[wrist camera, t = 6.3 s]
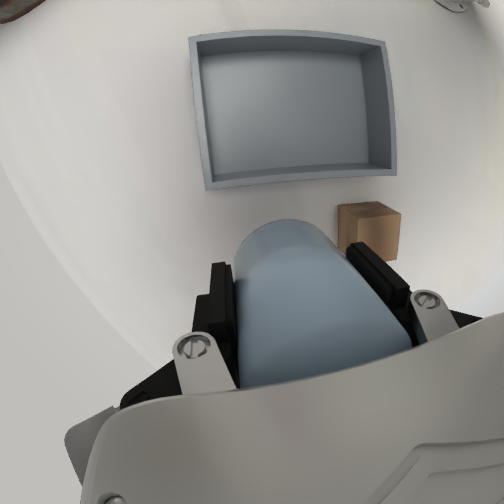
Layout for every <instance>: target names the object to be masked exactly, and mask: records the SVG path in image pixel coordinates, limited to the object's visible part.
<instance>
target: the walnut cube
mask: <svg viewBox="0 0 504 504" xmlns="http://www.w3.org/2000/svg"><path fill="white" fill-rule="evenodd" d="M400 221H401V214H400V213H398V212H396V211H395V210H393V209H391V208H389V207H387V206H385V205H383V204H381V203H380V202H378V201H375V202H364V203H353V204H342V205H338V248H339V249H340V250H341V251H342V252H343V253H344V255H345V256H346V248H347V247H349V246H350V244H351V243H355V242H364V243H365V244H366V245H367V246H368V247H370V248H371V249H372V250H373V251H374V252H375V253H376V254H377V255H378V256H379V257H380V258H381V259H382V260H384V261H385V262H386V261H392V260H396V259H397V251H398V242H399V233H400Z"/></svg>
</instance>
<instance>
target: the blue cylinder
mask: <svg viewBox="0 0 504 504" xmlns="http://www.w3.org/2000/svg"><path fill="white" fill-rule="evenodd" d="M233 281H234V295H235V311H236V326H237V340H238V364H239V377H240V389H241V388H248V387H255V386H262V385H268V384H275V383H280V382H286V381H291V380H296V379H301V378H306V377H311V376H316V375H320V374H324V373H329V372H333V371H337V370H341V369H345V368H349V367H352V366H356V365H359V364H363V363H366V362H370V361H373V360H377V359H380V358H383V357H386V356H389V355H392V354H395V353H398V352H401V351H404V350H407V349H410V348H412V343H411V339H410V337H409V335H408V333H407V332H406V331H405V329H404V328H403V327H402V325H401V324H400V323H399V322H398V320H397V319H396V318H395V316H394V315H393V314H392V313H391V311H390V310H389V309H388V307H387V306H386V305H385V304H384V302H383V301H382V300H381V299H380V298H379V296H378V295H377V294H376V293H375V291H374V290H373V289H372V288H371V287H370V285H369V284H368V283H367V282H366V281H365V279H364V278H363V277H362V276H361V275H360V273H359V272H358V271H357V270H356V269H355V268H354V266H353V265H352V264H351V263H350V262H349V261H348V259H347V258H346V257H345V256H344V255H343V254H342V253H341V251H340V250H339V249H338V248H337V247H336V246H335V245H334V244H333V242H332V241H331V240H330V239H329V238H328V237H327V236H326V235H325V234H324V233H323V232H322V231H321V230H320V229H319V228H317V227H316V226H314V225H312V224H310V223H307V222H305V221H300V220H293V219H286V220H278V221H274V222H271V223H268V224H266V225H263V226H261V227H260V228H258V229H257V230H255V231H254V232H252V233H251V234H250V235H249V236H248V237H247V238H246V239H245V240H244V241H243V243H242V244H241V246H240V247H239V249H238V251H237V253H236V256H235V258H234V263H233Z"/></svg>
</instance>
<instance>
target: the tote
mask: <svg viewBox="0 0 504 504" xmlns="http://www.w3.org/2000/svg"><path fill="white" fill-rule="evenodd" d="M188 40H189V52H190V63H191V74H192V84H193V93H194V103H195V112H196V120H197V129H198V137H199V145H200V152H201V160H202V167H203V174H204V182H205V188H206V191H208V190H216V189H223V188H230V187H238V186H247V185H255V184H264V183H274V182H284V181H296V180H308V179H322V178H338V177H359V176H396V175H397V151H396V125H395V111H394V99H393V90H392V81H391V74H390V67H389V61H388V55H387V49H386V44H385V42H383V41H379V40H374V39H369V38H364V37H358V36H352V35H345V34H338V33H329V32H319V31H305V30H245V31H231V32H221V33H212V34H205V35H198V36H192V37H188Z"/></svg>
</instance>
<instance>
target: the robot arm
mask: <svg viewBox="0 0 504 504" xmlns="http://www.w3.org/2000/svg"><path fill="white" fill-rule="evenodd" d="M436 1H437V2H438V3H440V4H441V5H443V6H444V7H446V8H448V9H450V10H452V11H455V12H462V11H465V10H466V9H467V8H468V5H469V1H471V0H436ZM472 1H477V2H478V3H479V4H481V5H482V6H483V7H485V8H488V7H489V5H490V3H489V1H488V0H472ZM346 258H347V259H348V261H349V262H350V263H351V264H352V265H353V266H354V268H355V269H356V270H357V271H358V272H359V273H360V275H361V276H362V277H363V278H364V279H365V281H366V282H367V283H368V284H369V285H370V287H371V288H372V289H373V290H374V291H375V293H376V294H377V295H378V296H379V298H380V299H381V300H382V301H383V302H384V304H385V305H386V306H387V307H388V309H389V310H390V311H391V313H392V314H393V315H394V316H395V318H396V319H397V320H398V322H399V323H400V324H401V325H402V327H403V328H404V329H405V331H406V332H407V333H408V335H409V337H410V339H411V343H412V348H410V349H407V350H404V351H401V352H398V353H395V354H392V355H389V356H386V357H383V358H380V359H377V360H373V361H370V362H366V363H363V364H359V365H356V366H352V367H349V368H345V369H341V370H337V371H333V372H329V373H324V374H320V375H316V376H311V377H306V378H301V379H296V380H291V381H286V382H280V383H275V384H268V385H262V386H255V387H248V388H241V389H240V377H239V364H238V340H237V326H236V311H235V295H234V281H233V275H232V270H231V265H230V264H229V265H226V263H225V262H219V263H212V269H211V281H210V292H209V294H205V295H198V296H197V299H196V305H195V312H194V320H193V327H192V332H191V333H188V334H185V335H183V336H182V337H180V338H179V339H178V340H177V341H176V342H175V343H174V345H173V356H174V359H173V360H172V361H170V362H169V363H168V364H166V365H165V366H163V367H162V368H161V369H159V370H158V371H156V372H155V373H154V374H152V375H151V376H149V377H148V378H146V379H145V380H144V381H142V382H141V383H139V384H138V385H136V386H135V387H134V388H132V389H131V390H129V391H128V392H127V393H126V394H125V395H124V396H123V398H122V399H121V403H120V406H119V407H117V408H114V407H113V406H111V407H109V408H108V409H106V410H104V411H102V412H100V413H98V414H96V415H95V416H93V417H91V418H89V419H87V420H85V421H83V422H81V423H79V424H77V425H75V426H73V427H72V428H70V429H69V430H68V432H67V433H66V435H65V439H64V441H65V447H66V449H67V452H68V455H69V457H70V460H71V462H72V465H73V467H74V469H75V472H76V474H77V476H78V478H79V481H80V483H81V485H82V494H81V501H80V504H504V313H499V314H495V315H491V316H489V317H486V318H481V317H476V316H472V315H468V314H464V313H461V312H457V311H453V310H449V309H448V307H447V305H446V304H445V302H444V300H443V299H442V297H441V296H440V295H439V294H437V293H435V292H433V291H430V290H417V291H415V292H413V293H412V292H411V291H410V290H409V288H410V286H409V285H408V284H407V283H406V282H405V281H404V280H403V279H402V278H401V277H400V276H399V275H398V274H397V273H396V272H395V271H394V270H393V269H392V268H391V267H390V266H389V265H388V264H387V263H386V262H385V261H384V260H382V259H381V258H380V257H379V256H378V255H377V254H376V253H375V252H374V251H373V250H372V249H371V248H370V247H368V246H367V245H366V244H365V243H364V242H355V243H351V244H350V246H349V247H347V248H346Z"/></svg>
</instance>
